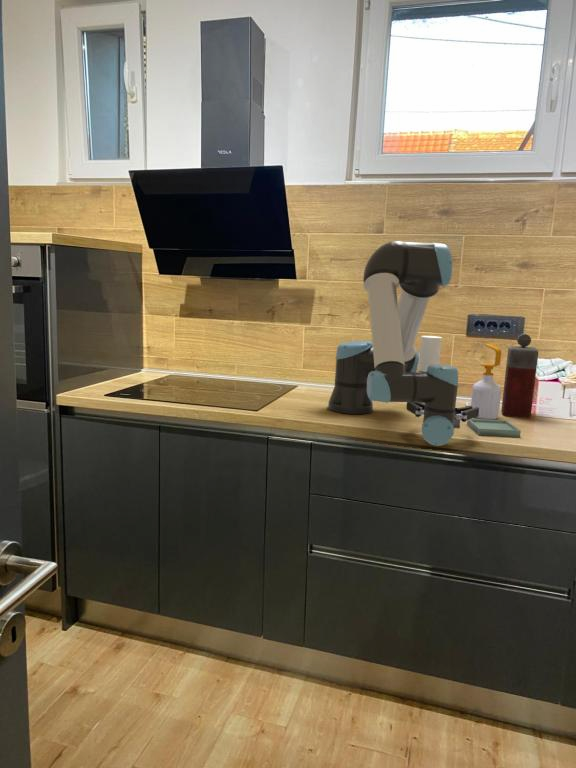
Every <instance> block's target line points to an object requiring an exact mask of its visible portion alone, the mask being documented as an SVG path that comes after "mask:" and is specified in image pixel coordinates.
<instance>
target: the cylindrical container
mask: <svg viewBox="0 0 576 768" xmlns="http://www.w3.org/2000/svg"><path fill="white" fill-rule="evenodd" d="M442 340H443V337H441V336H436V335H421V336H420V346H419V347H420V348H419V362H418V368H417V373H427V369H428V366H430V365H436V364H440V363H441V353H442V352H441V351H442ZM440 365H441V364H440ZM423 404H425V403H423Z"/></svg>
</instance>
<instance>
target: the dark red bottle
mask: <svg viewBox="0 0 576 768" xmlns="http://www.w3.org/2000/svg"><path fill="white" fill-rule="evenodd" d="M516 342H517V343H518V345H509V346H508V348H507V357H506V365H505V374H504V375H505V376H504V385H503V391H502V392H503V393H502V400H501V402H502V404H501V416H504V417H509V418H510V417H512V418H521V419H522V418H523V419H531V417H532V411H533V410H532V409H533V400H534V392H535V391H534V390H535V383H536V377H537V376H536V375H537V367H538V360H539V350H538V349H537V348H536V347H534V346H530V344H531V343H532V337H531V336H530V335H529V334H527V333H521V334H520V335H518V337H517V340H516Z"/></svg>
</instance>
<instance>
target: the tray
mask: <svg viewBox="0 0 576 768" xmlns="http://www.w3.org/2000/svg"><path fill="white" fill-rule="evenodd" d="M466 425H467V426H468V427H469V428H470V429H471V431H473V432H475V434H477V436H485V437H486V436H488V437H490V436H491V437H508V438H509V437H510V438H520V437H521V429H519V428H518V427H516V426H515V425H513V423H511V422H510V421H508V420H502V419H491V420H488V419H479V418H472V419H469V420H467V421H466Z"/></svg>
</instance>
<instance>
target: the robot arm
mask: <svg viewBox="0 0 576 768" xmlns="http://www.w3.org/2000/svg"><path fill="white" fill-rule="evenodd" d="M452 274H453V258H452V253H451V250H450V248H449V246H448V245H447V244H444V243H439V242H435V241H433V242H432V243H431V242H419V241H418V242H414V241H401V240H396V241H395V240H392V241H390V242H389V241H388V242H387V243H385V244H383V245H381V246H379V247H378V248H377V249H376V250H375V251H374V252H373V253H372V254H371V256H370V258H368V261H367V262H366V265H365V267H364V271H363V276H362V277H363V278H362V279H363V287H364V288H363V289H364V291H365V292H367V294H368V295H367V296H368V305H369V306H368V307H369V319H370V330H371V331H370V332H371V340H352V341H345V342H342V343H340V344H339V345H338V346H337V347H336V354H335V374H334V375H335V377H334V387H333V390H332V392H331V395H330V398H329V401H328V404H327V405H328V407H327V408H328V410H330V411H332V412H334V413H335V412H336V413H338V414H339V413H340V414H347V415H364V414H371V413H372V412H373V408H374V404H373V402H380V403H381V402H382V403H388V404H389V403H406V408H405V409H406V410H407V411H408V412H410V413H411V414H413V415H415V418H420V417H422V416H423V421H422V424H421V433H422V438H423V440H425V441H426V442H427V443H428V444H429V445H432V446H436V447H438V446H445V445H446V444H448V443H449V442H450V441H451V439H452V438H453V436H454V434H455V433H454V432H455V431H454V430H455V427H454V420H455V419H456V418H459V419H460V421H461V422H462V423H465V422H466V423H467V420H469V419H476V418H475V417H478V415H479V408H478V407H476V408H473V407H472V406H471V405H469V401H468V400H467V401H465V405H464V406H462V407H456V404H457V397H458V396H457V395H458V388H459V370H458V368H457V367H455V366H452V365H448V364H436V365H430V366H428V369H427V373H418V369H419V357H420V354H419V350H418V349H417V348H416V346H415V342H416V339H417V336H418V334H419V331H420V329H421V325H422V322H423V320H424V318H425V317H424V316H425V313H426V311H427V308H428V305H429V303H430V299H431V298H432V297H434V296H435V295H437V293H438V292H439V290H440V286H441V287H446V286H448V285H450V282H451V280H452V277H453V276H452ZM398 287H399V288H400V289H401V291H400V295H399V299H398V293H397V289H398ZM423 403H425V404H423Z"/></svg>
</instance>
